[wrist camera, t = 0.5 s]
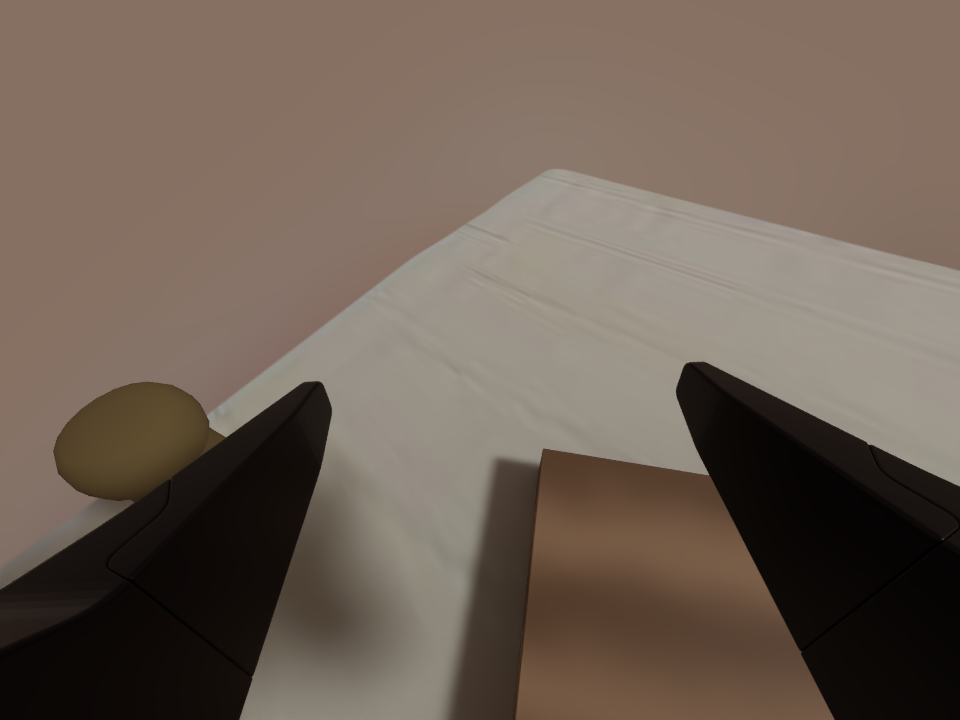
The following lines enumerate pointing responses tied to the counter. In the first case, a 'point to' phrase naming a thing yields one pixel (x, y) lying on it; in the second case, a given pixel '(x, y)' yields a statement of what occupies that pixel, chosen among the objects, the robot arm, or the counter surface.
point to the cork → (132, 441)
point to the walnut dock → (649, 604)
